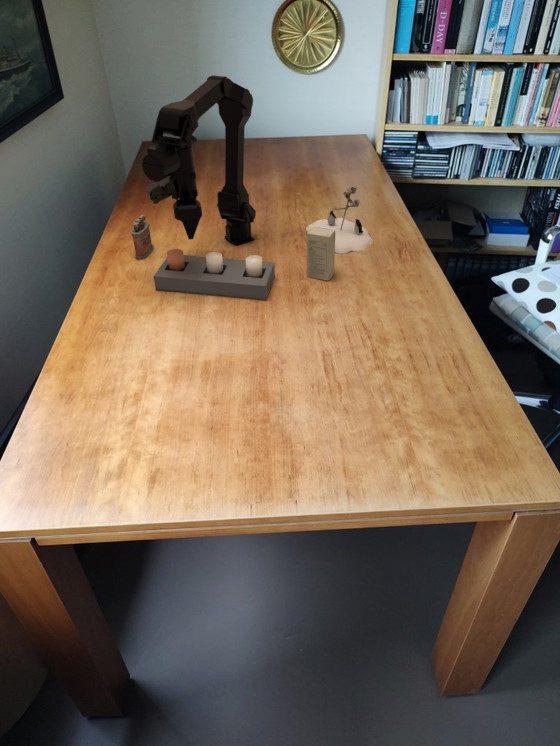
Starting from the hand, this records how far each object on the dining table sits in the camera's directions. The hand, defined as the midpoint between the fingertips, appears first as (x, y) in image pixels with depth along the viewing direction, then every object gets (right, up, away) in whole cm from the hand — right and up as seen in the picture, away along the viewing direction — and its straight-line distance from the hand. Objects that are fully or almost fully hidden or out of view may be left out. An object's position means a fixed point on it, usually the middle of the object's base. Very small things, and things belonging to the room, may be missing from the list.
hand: (189, 230), depth 135 cm
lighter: (-15, -2, +18) cm, 23 cm away
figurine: (+39, +4, +25) cm, 47 cm away
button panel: (+6, -12, +5) cm, 14 cm away
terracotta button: (-4, -8, +4) cm, 10 cm away
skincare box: (+33, -10, +8) cm, 35 cm away
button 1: (+6, -9, +2) cm, 11 cm away
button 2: (+16, -10, +1) cm, 19 cm away
